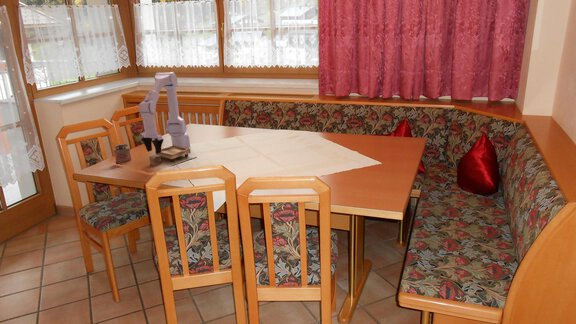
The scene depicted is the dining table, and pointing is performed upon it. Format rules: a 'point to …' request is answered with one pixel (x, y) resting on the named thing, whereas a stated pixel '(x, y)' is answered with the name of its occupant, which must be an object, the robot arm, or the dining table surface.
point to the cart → (173, 152)
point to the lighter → (122, 153)
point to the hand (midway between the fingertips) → (154, 152)
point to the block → (155, 159)
